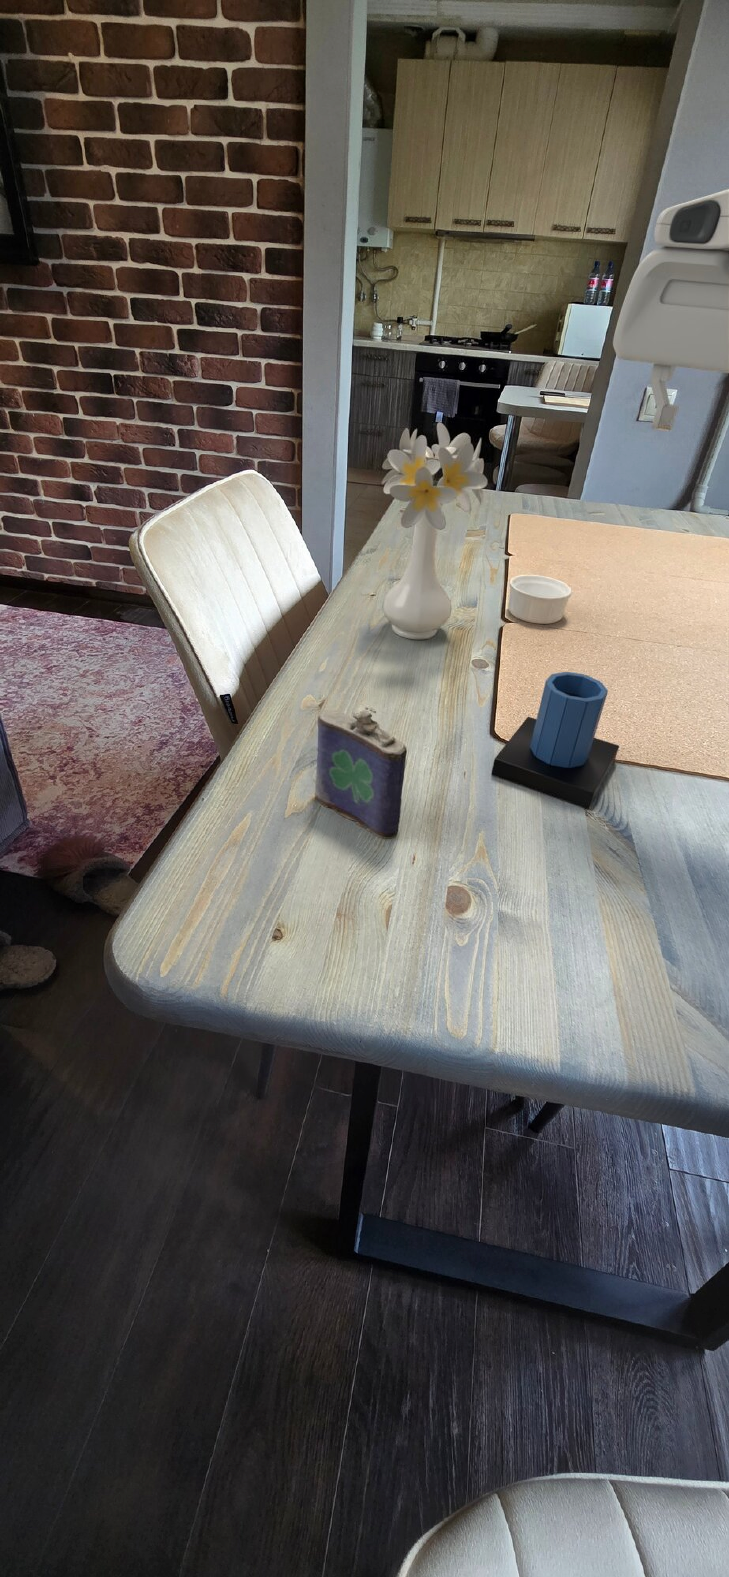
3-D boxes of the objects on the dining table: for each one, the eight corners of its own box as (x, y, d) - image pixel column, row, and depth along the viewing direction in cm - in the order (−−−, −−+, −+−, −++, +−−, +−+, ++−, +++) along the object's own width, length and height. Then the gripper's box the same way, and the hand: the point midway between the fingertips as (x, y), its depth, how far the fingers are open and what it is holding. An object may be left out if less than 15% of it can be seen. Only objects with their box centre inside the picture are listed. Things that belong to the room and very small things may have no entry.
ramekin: (561, 605, 112) (568, 577, 109) (568, 629, 105) (576, 600, 102) (503, 599, 112) (508, 571, 109) (506, 622, 105) (512, 593, 102)
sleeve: (593, 747, 75) (613, 682, 71) (577, 774, 71) (597, 707, 67) (541, 730, 77) (557, 666, 73) (523, 756, 73) (538, 689, 69)
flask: (309, 798, 68) (312, 696, 62) (330, 785, 70) (336, 685, 64) (386, 843, 64) (399, 739, 58) (407, 828, 66) (421, 726, 60)
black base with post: (614, 761, 77) (636, 694, 72) (588, 809, 70) (611, 738, 65) (524, 731, 81) (539, 666, 76) (490, 775, 74) (505, 705, 69)
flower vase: (369, 660, 92) (386, 445, 78) (369, 603, 107) (384, 413, 92) (472, 667, 93) (508, 454, 78) (458, 609, 108) (487, 421, 93)
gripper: (959, 236, 50) (863, 455, 58) (654, 219, 57) (607, 414, 66) (968, 230, 45) (864, 468, 54) (636, 212, 53) (588, 423, 61)
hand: (720, 438), depth 60 cm, fingers open, 8 cm apart
